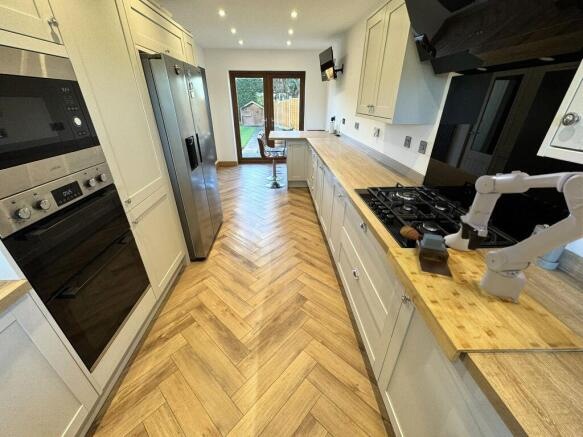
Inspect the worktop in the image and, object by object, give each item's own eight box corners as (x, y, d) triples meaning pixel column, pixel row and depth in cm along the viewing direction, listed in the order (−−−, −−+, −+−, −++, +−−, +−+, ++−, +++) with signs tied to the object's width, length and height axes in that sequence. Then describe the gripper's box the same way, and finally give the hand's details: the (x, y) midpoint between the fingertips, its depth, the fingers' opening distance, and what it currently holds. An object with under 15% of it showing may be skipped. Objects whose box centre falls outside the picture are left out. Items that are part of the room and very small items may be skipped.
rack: (440, 252, 98) (445, 239, 95) (452, 279, 82) (457, 265, 80) (414, 247, 101) (418, 234, 98) (420, 273, 85) (425, 259, 82)
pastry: (424, 241, 106) (426, 233, 104) (412, 243, 104) (414, 236, 102) (408, 231, 114) (410, 224, 112) (397, 233, 112) (399, 226, 110)
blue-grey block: (442, 245, 94) (445, 236, 92) (444, 251, 90) (448, 241, 89) (420, 242, 96) (423, 233, 94) (422, 247, 93) (424, 237, 91)
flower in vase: (468, 257, 94) (492, 199, 83) (437, 245, 102) (456, 191, 91) (477, 246, 102) (500, 191, 91) (448, 235, 110) (466, 184, 99)
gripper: (461, 201, 87) (450, 232, 93) (474, 217, 75) (460, 252, 81) (483, 203, 85) (471, 235, 91) (501, 220, 73) (485, 256, 79)
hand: (467, 243), depth 86 cm, fingers open, 7 cm apart
